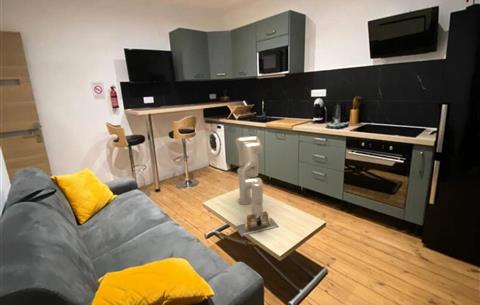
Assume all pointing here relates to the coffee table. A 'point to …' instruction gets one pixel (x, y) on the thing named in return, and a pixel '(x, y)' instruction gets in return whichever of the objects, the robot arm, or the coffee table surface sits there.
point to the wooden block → (253, 220)
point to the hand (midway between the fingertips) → (257, 223)
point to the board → (256, 228)
